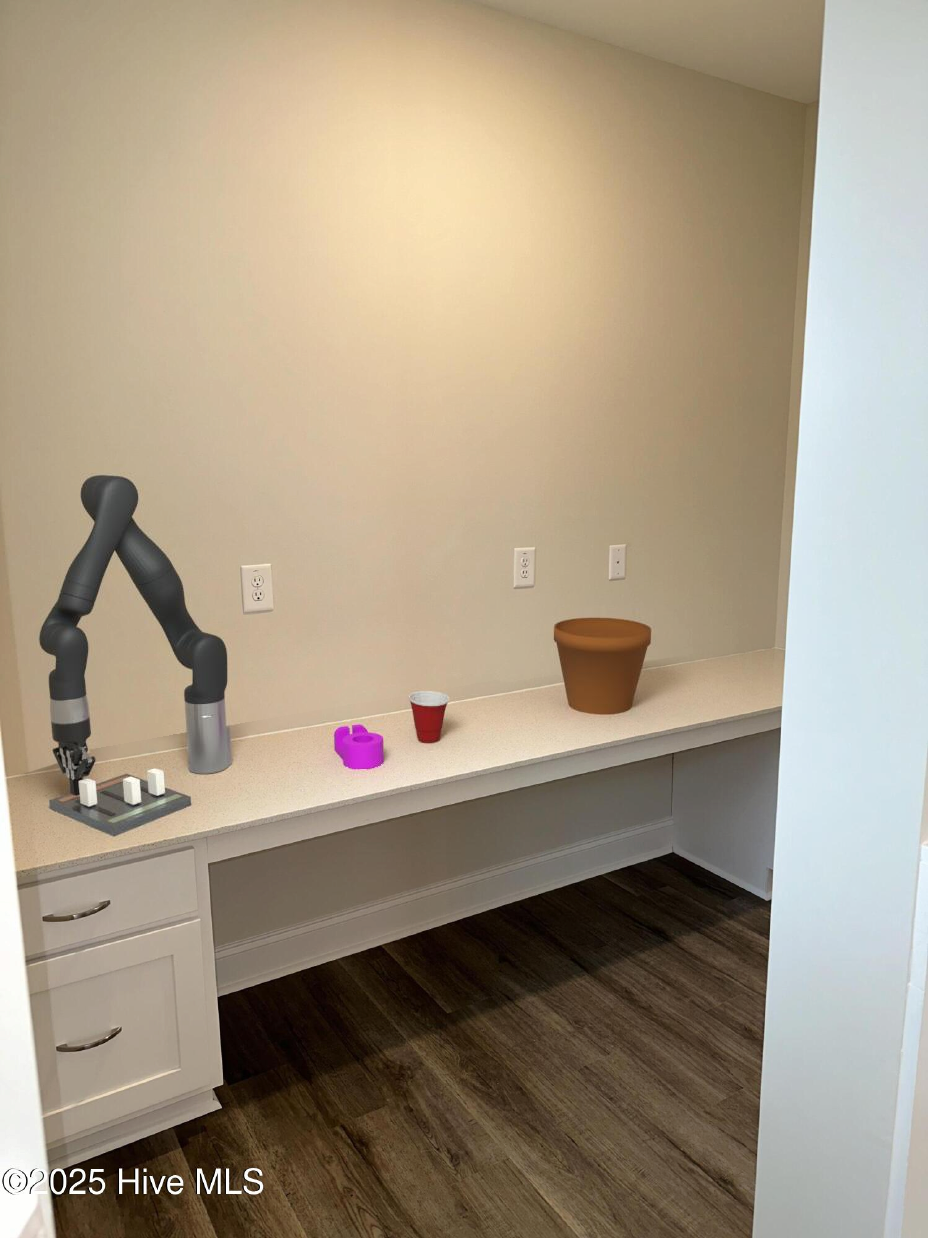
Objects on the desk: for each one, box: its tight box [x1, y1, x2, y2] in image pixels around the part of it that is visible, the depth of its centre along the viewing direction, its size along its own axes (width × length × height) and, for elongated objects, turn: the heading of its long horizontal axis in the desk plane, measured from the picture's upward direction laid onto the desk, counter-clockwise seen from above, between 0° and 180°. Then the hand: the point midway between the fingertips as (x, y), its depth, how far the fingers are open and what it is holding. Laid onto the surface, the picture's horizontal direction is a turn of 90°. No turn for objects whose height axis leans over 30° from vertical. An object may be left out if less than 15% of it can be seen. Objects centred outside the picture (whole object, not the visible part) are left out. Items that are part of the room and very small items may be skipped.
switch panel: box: [48, 773, 192, 837], centre depth 198 cm, size 19×23×2 cm
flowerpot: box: [553, 617, 652, 716], centre depth 269 cm, size 28×28×24 cm
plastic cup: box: [408, 690, 451, 744], centre depth 240 cm, size 11×11×12 cm
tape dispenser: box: [333, 724, 385, 771], centre depth 227 cm, size 16×10×6 cm, turn 24°
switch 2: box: [146, 768, 166, 796], centre depth 200 cm, size 2×3×5 cm, turn 54°
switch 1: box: [79, 777, 97, 807], centre depth 194 cm, size 2×3×5 cm, turn 54°
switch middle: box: [123, 777, 141, 805], centre depth 195 cm, size 2×3×5 cm, turn 54°
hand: (77, 793), depth 197 cm, fingers closed
